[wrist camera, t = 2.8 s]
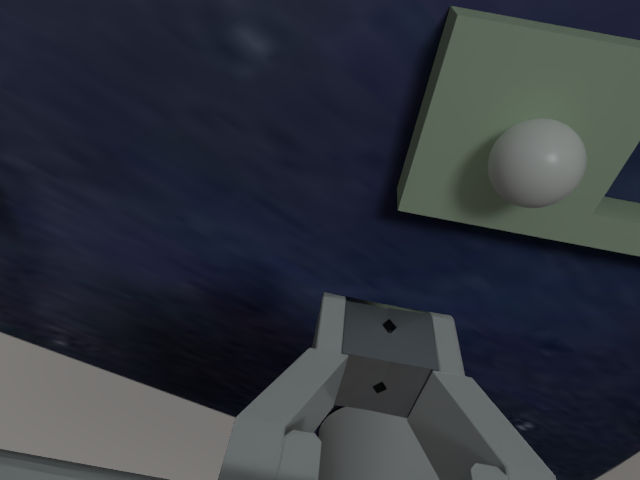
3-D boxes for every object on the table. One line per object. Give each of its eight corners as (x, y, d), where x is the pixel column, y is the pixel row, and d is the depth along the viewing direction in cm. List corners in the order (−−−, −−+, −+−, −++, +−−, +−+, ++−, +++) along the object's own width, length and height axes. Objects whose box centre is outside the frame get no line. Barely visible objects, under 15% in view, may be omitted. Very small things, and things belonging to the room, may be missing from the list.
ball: (575, 163, 21) (609, 206, 18) (493, 192, 23) (511, 236, 19) (559, 90, 19) (593, 123, 16) (470, 127, 21) (485, 164, 17)
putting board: (833, 76, 20) (883, 92, 18) (689, 243, 26) (714, 270, 24) (450, 5, 20) (457, 14, 18) (396, 188, 26) (397, 210, 24)
